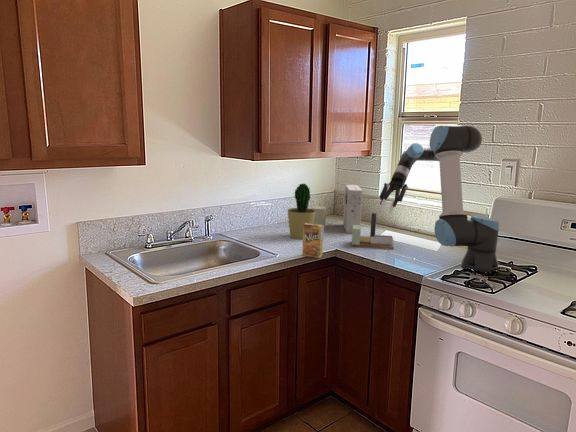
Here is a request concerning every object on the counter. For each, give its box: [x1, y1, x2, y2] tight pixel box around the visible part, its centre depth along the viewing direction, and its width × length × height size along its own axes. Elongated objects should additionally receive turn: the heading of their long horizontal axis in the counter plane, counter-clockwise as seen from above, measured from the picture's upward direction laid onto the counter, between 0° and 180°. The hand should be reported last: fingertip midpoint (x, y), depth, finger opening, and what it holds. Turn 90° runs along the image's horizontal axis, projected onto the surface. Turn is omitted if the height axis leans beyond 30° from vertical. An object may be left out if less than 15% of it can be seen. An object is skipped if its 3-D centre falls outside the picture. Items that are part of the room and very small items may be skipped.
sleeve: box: [370, 234, 394, 245], centre depth 234 cm, size 4×11×4 cm, turn 81°
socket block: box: [351, 224, 362, 245], centre depth 236 cm, size 10×4×8 cm, turn 171°
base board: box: [351, 242, 394, 250], centre depth 236 cm, size 10×21×1 cm, turn 81°
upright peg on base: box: [360, 212, 378, 242], centre depth 234 cm, size 3×11×15 cm, turn 81°
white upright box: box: [342, 184, 363, 234], centre depth 269 cm, size 22×8×25 cm, turn 179°
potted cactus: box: [286, 183, 316, 240], centre depth 246 cm, size 15×15×30 cm
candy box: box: [301, 223, 325, 259], centre depth 212 cm, size 9×4×15 cm, turn 66°
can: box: [310, 205, 327, 228], centre depth 275 cm, size 9×9×12 cm
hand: (385, 210), depth 239 cm, fingers open, 5 cm apart
